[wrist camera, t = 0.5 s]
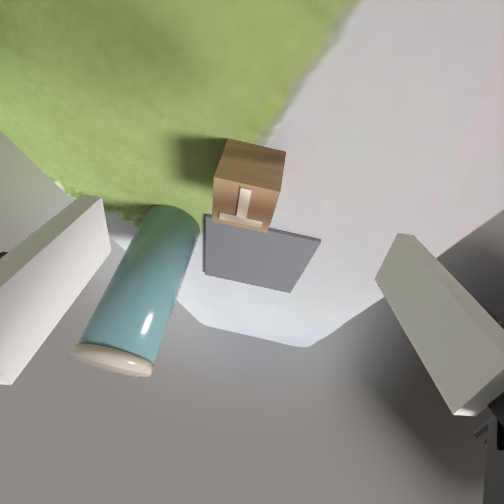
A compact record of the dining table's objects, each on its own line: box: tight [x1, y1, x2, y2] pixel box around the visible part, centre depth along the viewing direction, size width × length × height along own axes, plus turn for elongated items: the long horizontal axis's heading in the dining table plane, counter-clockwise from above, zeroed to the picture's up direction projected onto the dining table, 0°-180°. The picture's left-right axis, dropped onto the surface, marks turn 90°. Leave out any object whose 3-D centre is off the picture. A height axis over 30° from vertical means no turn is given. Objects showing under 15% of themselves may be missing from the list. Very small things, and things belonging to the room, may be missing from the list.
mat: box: [205, 214, 321, 293], centre depth 44 cm, size 16×16×1 cm
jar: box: [70, 205, 200, 377], centre depth 35 cm, size 8×8×20 cm
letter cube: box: [212, 139, 286, 233], centre depth 28 cm, size 6×6×6 cm
